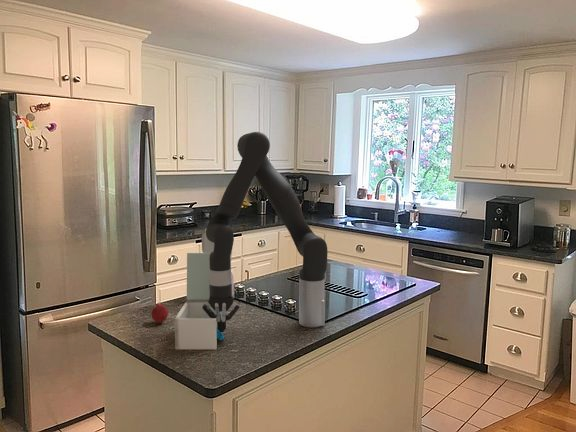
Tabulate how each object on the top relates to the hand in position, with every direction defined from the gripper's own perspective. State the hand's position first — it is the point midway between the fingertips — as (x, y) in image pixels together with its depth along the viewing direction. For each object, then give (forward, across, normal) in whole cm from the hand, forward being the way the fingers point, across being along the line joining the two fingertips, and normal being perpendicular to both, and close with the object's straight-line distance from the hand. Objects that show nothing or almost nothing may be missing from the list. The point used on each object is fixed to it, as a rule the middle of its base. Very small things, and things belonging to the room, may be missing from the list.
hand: (221, 331), depth 161 cm
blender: (+3, +8, -42) cm, 43 cm away
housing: (+3, +7, 0) cm, 8 cm away
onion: (+3, +25, -14) cm, 29 cm away
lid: (-16, +7, -9) cm, 20 cm away
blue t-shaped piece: (+3, +3, 0) cm, 4 cm away
